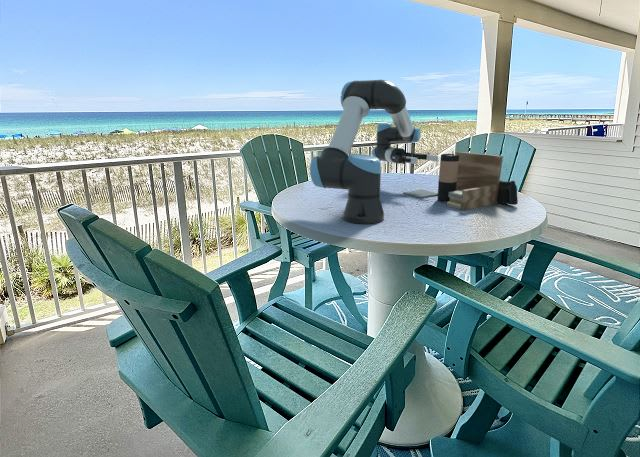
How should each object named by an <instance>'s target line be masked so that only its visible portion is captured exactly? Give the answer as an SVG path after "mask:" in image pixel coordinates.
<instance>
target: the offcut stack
mask: <svg viewBox="0 0 640 457" xmlns="http://www.w3.org/2000/svg"><path fill="white" fill-rule="evenodd" d="M471 189H472V188H471ZM464 190H466V189H464ZM462 191H463V190H458V191H452V192H449V195H448V197H450V201H448V202H446V206H447V207H450V208H454V209H455V208H456V209H459V210H461V200H462Z"/></svg>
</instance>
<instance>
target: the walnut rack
mask: <svg viewBox="0 0 640 457" xmlns="http://www.w3.org/2000/svg"><path fill="white" fill-rule="evenodd" d="M458 155H459V164H458V176H457V185H456V191H458V190H463V191H462V200H461V209H460V210H461V211H468V210H469V211H470V210H473V209H477V208H483V207H486V206H487V207H488V206H491V205H492V206H493V205H495V204H496V205H497V203H498V202H497V196H498V189H499V182H500V181H501V174H502V173H501V172H502V165H503V157H504V156H503V155H498V154H497V155H495V154H485V153H475V152H465V151H456V154H455V156H458ZM471 188H472V189H471ZM464 189H466V190H464Z"/></svg>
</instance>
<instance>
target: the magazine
mask: <svg viewBox="0 0 640 457" xmlns="http://www.w3.org/2000/svg"><path fill="white" fill-rule="evenodd" d="M518 201H519V200H518V187H517V185H516V181H515V180H511V181H503V180H500V182H499V189H498V196H497V203H500V204H506V205H512V206H513V205H518V204H519V203H518Z"/></svg>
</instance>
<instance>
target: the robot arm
mask: <svg viewBox="0 0 640 457" xmlns="http://www.w3.org/2000/svg"><path fill="white" fill-rule="evenodd" d="M340 94H341V95H340V103H341V107H342V113H341V115H340V118H339V120H338V123H337V125H336V127H335V130H334V133H333V135H332V137H331V140H330V142H329V144H328V146H326V147H325V148H324V149H323V150H322V151H321V154H320V155H316V156H314V157H312V158H311V161H310V165H309V174H310V180H311V182H312V183H313V185H314V187H315V186H316V187H317V188H323V189H336V190H337V189H338V190H347V195H348V196H347V201H346V203H345V208H344V210H343V213H342V214H343V215H342V216H343V220H344V221H346V222H348V223H352V224H359V225H362V224H363V225H370V224H376V223H380V222H382V221H384V220H385V212H384V209H383V204H382V200H381V180H382V177H381V176H382V167H381V166H382V164H381V163H382V162H388V163H390V164H393V163H394V164H398V165H399V164H402V165H405V164H406V163H407V164H411V165H412V164H413V165H417V164H418V160H426V161H431V162H439V155H436V154H431V153H430V152H427V153H420V152H419V153H417V152H407V151H406V150H405V149H404V148H400V147H394V146H393V147H392V143H411V144H413V143H418V142H419V141H420V139H421V128H420V127H418V126H414V125H413V122H412V120H411V117H410V115H409V111H408V109H407V99H406V97H405V94H404V92H403V91H402V90H401V89H400V88H399V87H398V86H397V85H395V84H394V83H393V82H391V81H388V80H385V79H372V80H371V79H370V80H369V79H368V80H353V81H348V82H346V83H345V84H344V85H343V87H342V89H341V92H340ZM370 110H384V111H385V112H386V113H388V114H389V116H390V117H391V119H392V121H393V124H394V126H393V124H392V122H380V123H377V128H376V145H375V146H374V147H373V149H372V152H371V154H363V153H351V150H352V147H353V145H354V143H355V142H354V141H355V139H356V137H357V134H358V132H359V129H360V127H361V124H362V121H363V119H364V118H365V117H367V116H369V112H370ZM350 153H351V154H350ZM381 161H382V162H381Z"/></svg>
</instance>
